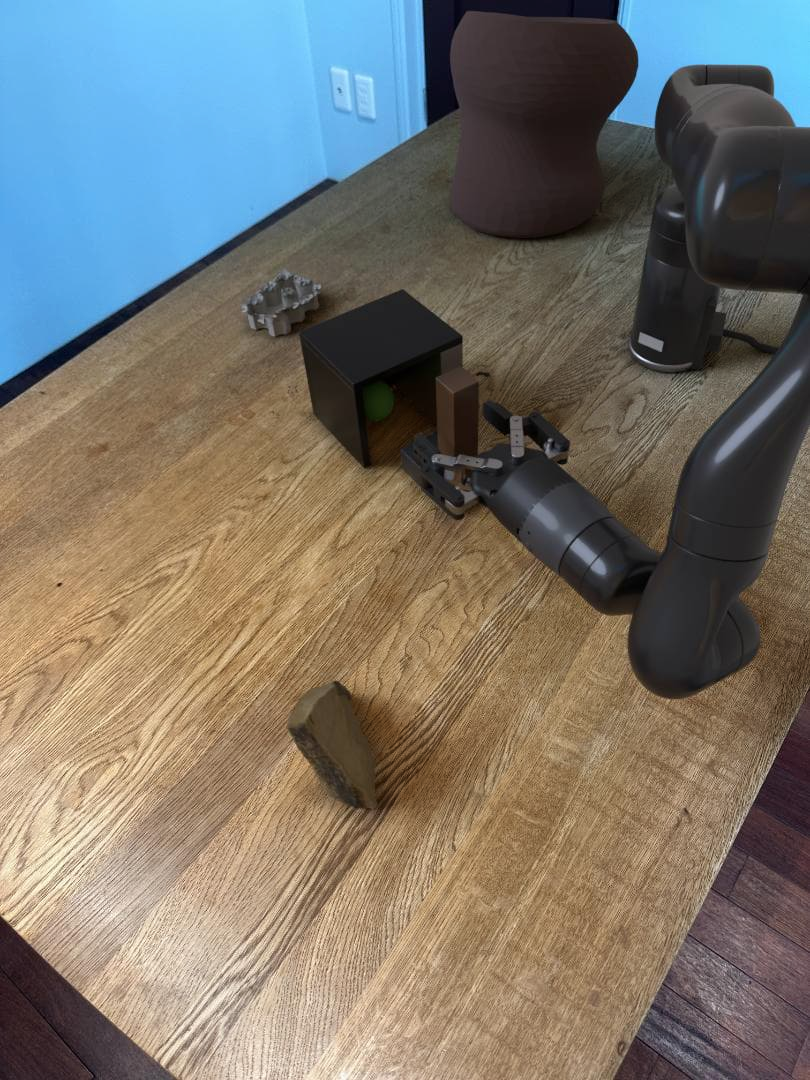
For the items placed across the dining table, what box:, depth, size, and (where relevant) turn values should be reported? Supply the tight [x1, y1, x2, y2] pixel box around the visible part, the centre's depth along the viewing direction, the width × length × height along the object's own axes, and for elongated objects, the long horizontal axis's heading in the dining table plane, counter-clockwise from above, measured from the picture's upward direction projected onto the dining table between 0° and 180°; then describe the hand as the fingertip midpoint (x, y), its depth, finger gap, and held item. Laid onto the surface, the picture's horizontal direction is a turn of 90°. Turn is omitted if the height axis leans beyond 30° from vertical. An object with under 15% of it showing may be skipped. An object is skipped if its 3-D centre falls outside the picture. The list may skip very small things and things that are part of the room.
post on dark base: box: [400, 366, 480, 515], centre depth 85 cm, size 9×5×16 cm, turn 33°
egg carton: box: [240, 268, 323, 338], centre depth 113 cm, size 11×8×4 cm
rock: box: [286, 680, 378, 810], centre depth 68 cm, size 11×9×10 cm
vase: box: [448, 10, 639, 239], centre depth 121 cm, size 27×27×30 cm
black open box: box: [298, 288, 464, 469], centre depth 94 cm, size 12×14×12 cm
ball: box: [362, 380, 396, 422], centre depth 97 cm, size 5×5×5 cm
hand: (451, 423), depth 82 cm, fingers open, 8 cm apart
